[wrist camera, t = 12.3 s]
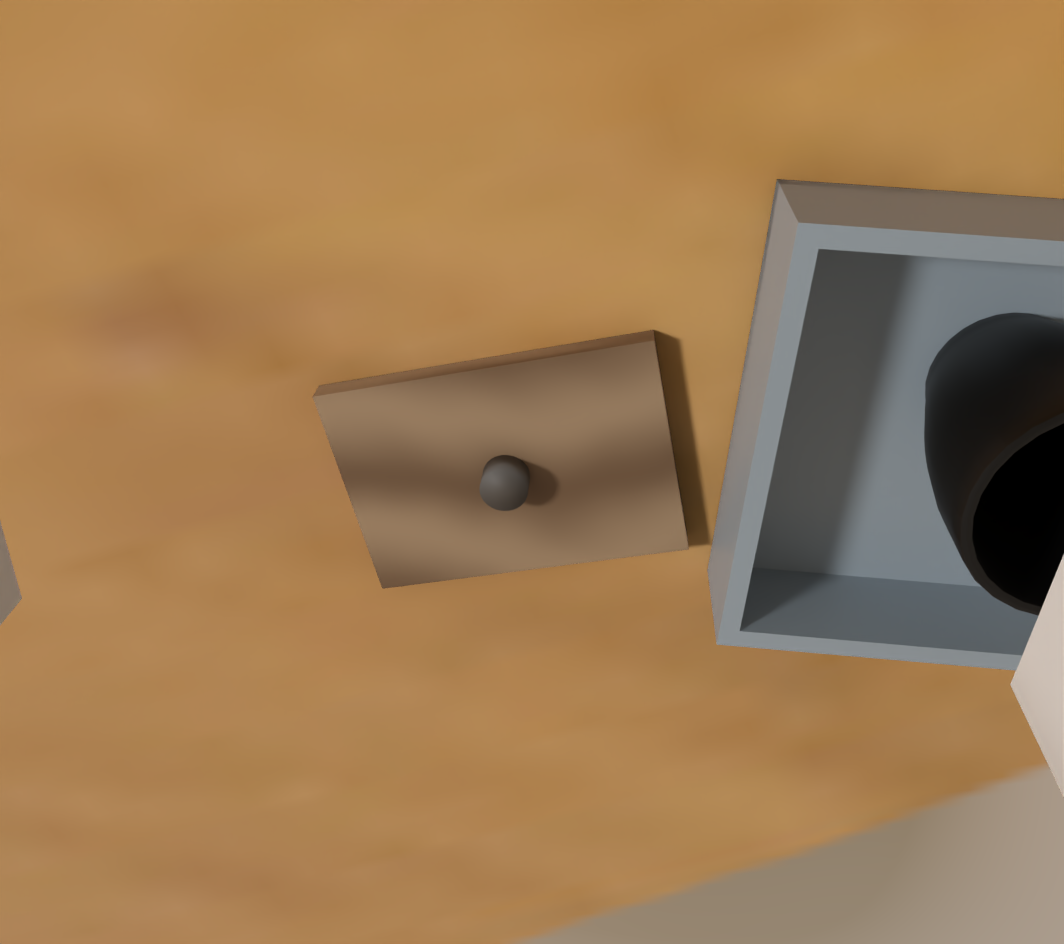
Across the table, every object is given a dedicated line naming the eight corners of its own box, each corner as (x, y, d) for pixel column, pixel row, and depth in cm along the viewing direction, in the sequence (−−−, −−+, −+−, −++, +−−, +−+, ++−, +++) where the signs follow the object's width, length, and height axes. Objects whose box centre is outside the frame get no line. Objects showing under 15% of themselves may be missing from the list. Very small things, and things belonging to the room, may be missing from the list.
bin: (777, 179, 36) (798, 222, 32) (1338, 218, 35) (1436, 267, 31) (707, 570, 45) (716, 644, 41) (1150, 607, 44) (1206, 686, 40)
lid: (318, 385, 42) (304, 410, 40) (653, 330, 39) (655, 353, 37) (386, 575, 47) (377, 605, 45) (687, 535, 44) (690, 566, 42)
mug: (909, 559, 43) (975, 720, 35) (877, 307, 37) (948, 431, 29) (1113, 522, 42) (1233, 683, 33) (1114, 252, 36) (1258, 368, 28)
